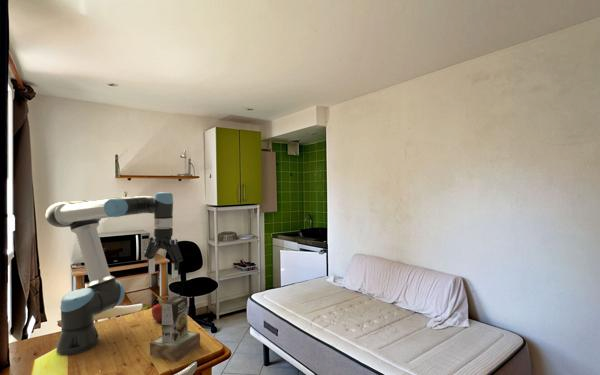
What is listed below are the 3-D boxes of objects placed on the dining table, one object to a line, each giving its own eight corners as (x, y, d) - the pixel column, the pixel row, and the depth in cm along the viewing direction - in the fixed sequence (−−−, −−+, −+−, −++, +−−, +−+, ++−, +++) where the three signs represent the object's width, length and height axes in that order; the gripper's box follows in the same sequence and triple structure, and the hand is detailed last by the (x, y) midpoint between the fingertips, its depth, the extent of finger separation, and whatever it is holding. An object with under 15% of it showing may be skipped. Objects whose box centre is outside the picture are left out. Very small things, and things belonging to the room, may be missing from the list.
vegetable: (147, 320, 164) (147, 300, 164) (166, 313, 172) (166, 295, 172) (157, 326, 157) (157, 306, 157) (177, 319, 165) (177, 300, 164)
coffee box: (174, 343, 129) (174, 304, 129) (161, 341, 131) (160, 303, 131) (188, 333, 138) (187, 296, 138) (175, 331, 140) (175, 295, 139)
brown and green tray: (150, 354, 131) (149, 342, 131) (175, 339, 144) (174, 327, 144) (176, 361, 126) (176, 348, 126) (200, 344, 139) (199, 332, 139)
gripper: (135, 226, 141) (135, 273, 142) (179, 231, 132) (178, 281, 132) (149, 224, 148) (149, 269, 149) (191, 228, 138) (191, 276, 139)
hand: (163, 275), depth 140 cm, fingers open, 13 cm apart
